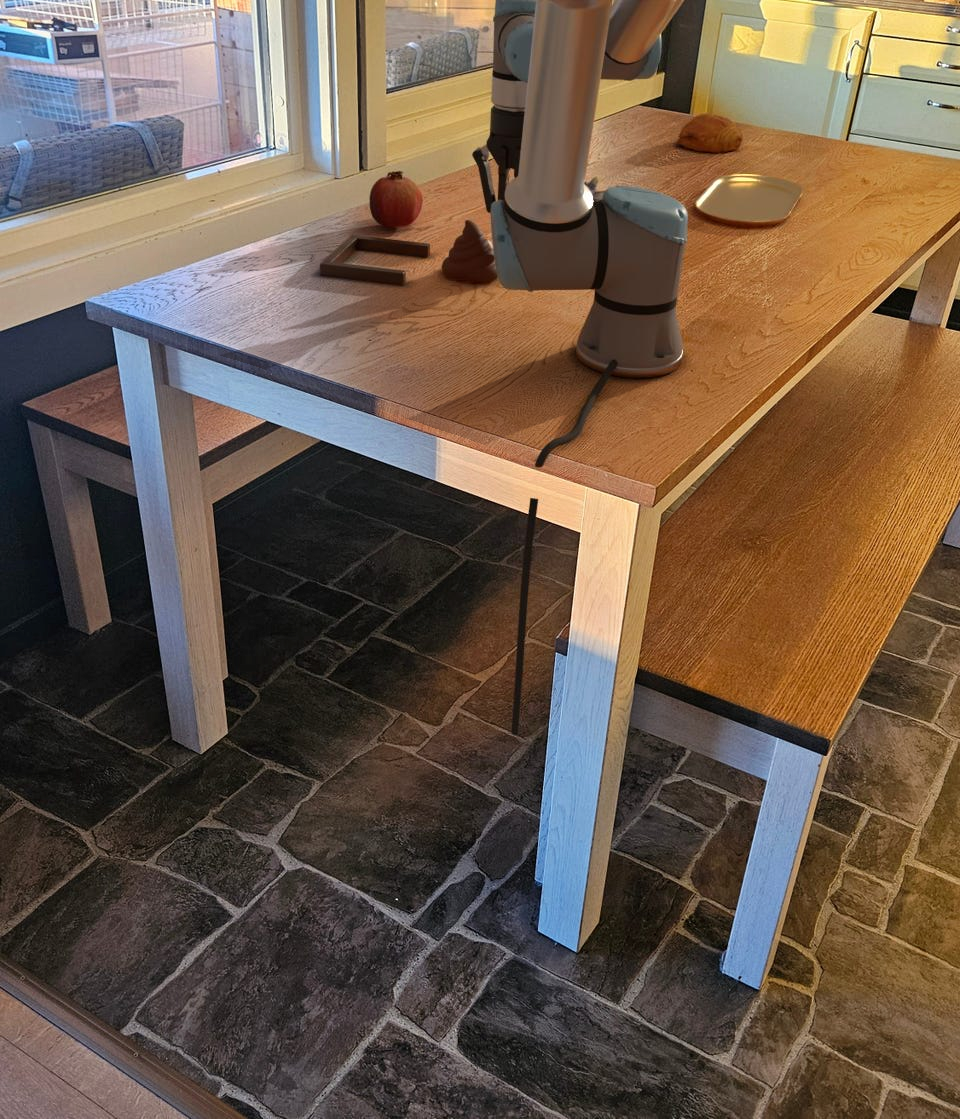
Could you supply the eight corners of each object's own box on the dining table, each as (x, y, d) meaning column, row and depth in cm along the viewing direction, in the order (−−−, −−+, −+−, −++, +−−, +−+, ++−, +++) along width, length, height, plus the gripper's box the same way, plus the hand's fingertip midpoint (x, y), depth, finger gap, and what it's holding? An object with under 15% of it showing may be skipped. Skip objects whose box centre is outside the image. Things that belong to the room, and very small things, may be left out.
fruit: (389, 214, 210) (389, 161, 204) (433, 224, 206) (433, 170, 200) (357, 228, 202) (355, 173, 196) (401, 239, 198) (400, 183, 192)
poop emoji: (434, 279, 181) (435, 223, 176) (451, 263, 188) (453, 209, 183) (491, 288, 179) (493, 232, 173) (506, 272, 185) (509, 217, 180)
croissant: (701, 144, 272) (703, 110, 269) (751, 149, 262) (754, 113, 258) (662, 150, 264) (664, 115, 261) (712, 155, 254) (714, 118, 250)
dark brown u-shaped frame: (403, 285, 179) (403, 273, 177) (320, 275, 181) (319, 263, 180) (430, 254, 191) (430, 243, 190) (352, 245, 194) (351, 234, 193)
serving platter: (684, 220, 213) (685, 212, 212) (722, 177, 240) (723, 169, 239) (780, 234, 208) (781, 226, 207) (807, 189, 234) (809, 181, 233)
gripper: (561, 104, 168) (550, 253, 182) (480, 97, 171) (475, 245, 184) (552, 115, 162) (541, 268, 176) (468, 107, 165) (464, 259, 178)
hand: (507, 256), depth 180 cm, fingers closed
